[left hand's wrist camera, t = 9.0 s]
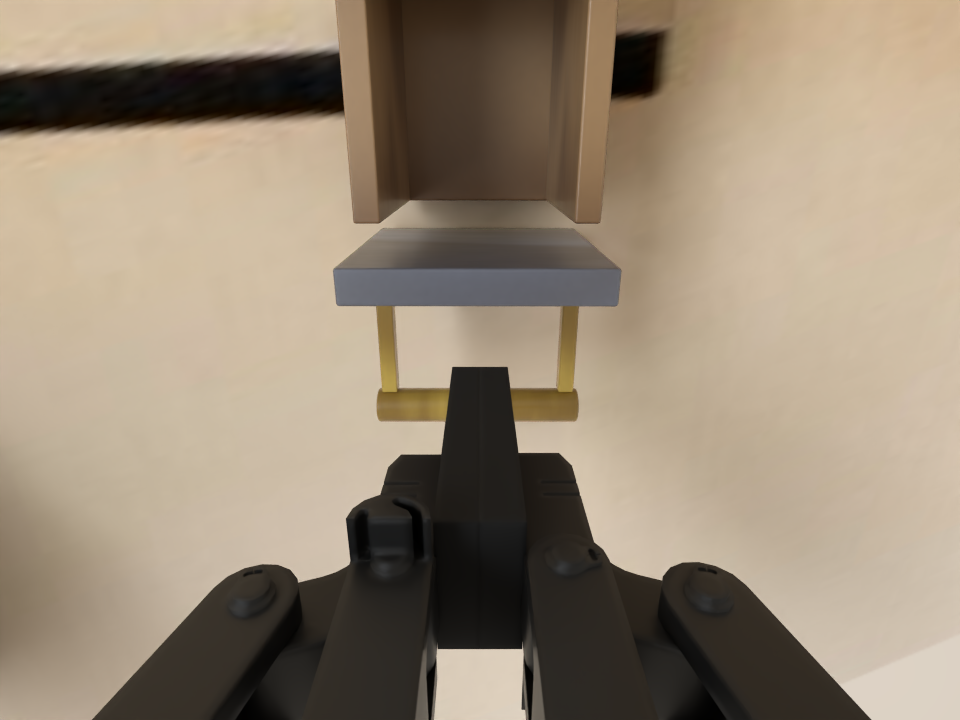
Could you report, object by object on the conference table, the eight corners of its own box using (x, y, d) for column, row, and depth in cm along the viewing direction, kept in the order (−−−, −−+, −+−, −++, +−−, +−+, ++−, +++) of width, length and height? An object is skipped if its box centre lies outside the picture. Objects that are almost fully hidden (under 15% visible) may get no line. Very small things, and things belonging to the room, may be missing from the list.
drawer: (565, 367, 27) (603, 463, 19) (390, 367, 27) (351, 463, 19) (611, -349, 18) (724, -778, 10) (344, -349, 18) (228, -778, 10)
